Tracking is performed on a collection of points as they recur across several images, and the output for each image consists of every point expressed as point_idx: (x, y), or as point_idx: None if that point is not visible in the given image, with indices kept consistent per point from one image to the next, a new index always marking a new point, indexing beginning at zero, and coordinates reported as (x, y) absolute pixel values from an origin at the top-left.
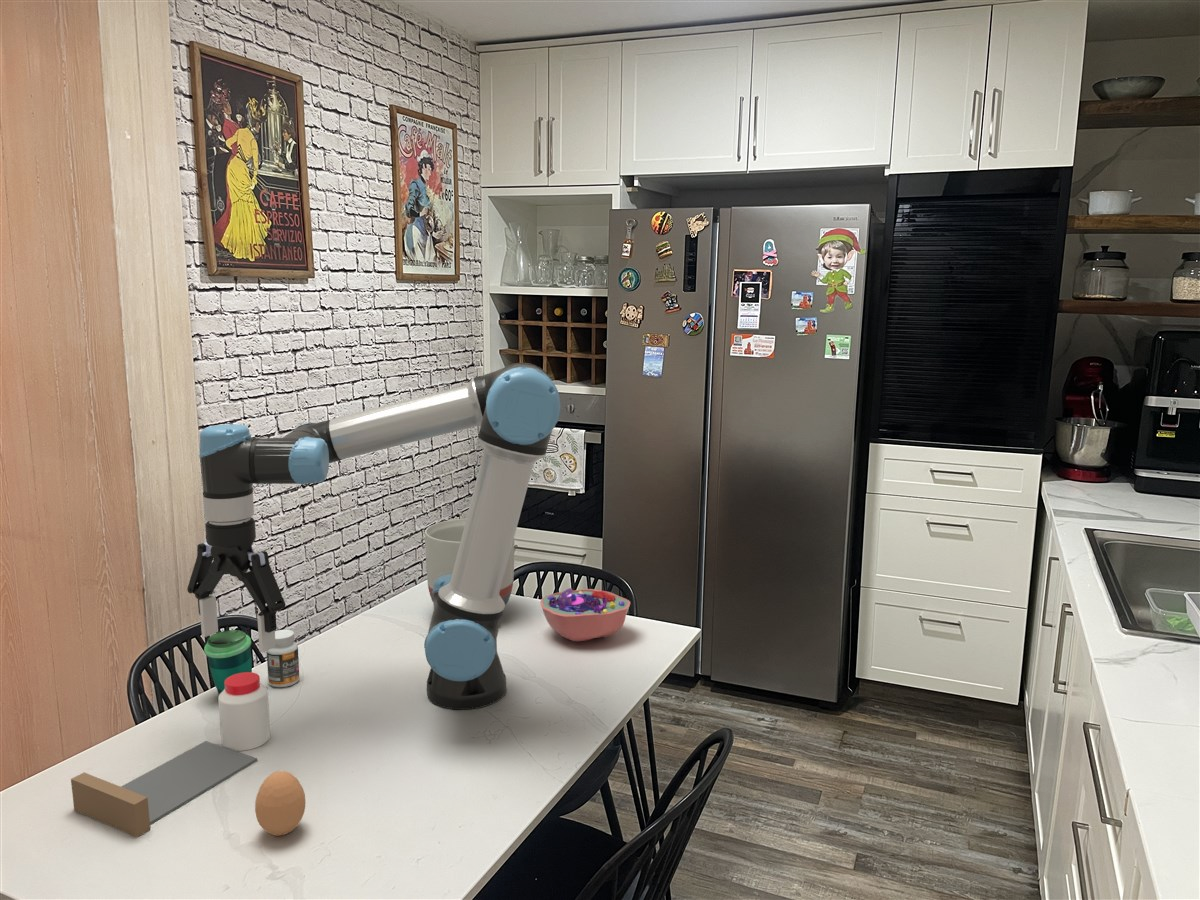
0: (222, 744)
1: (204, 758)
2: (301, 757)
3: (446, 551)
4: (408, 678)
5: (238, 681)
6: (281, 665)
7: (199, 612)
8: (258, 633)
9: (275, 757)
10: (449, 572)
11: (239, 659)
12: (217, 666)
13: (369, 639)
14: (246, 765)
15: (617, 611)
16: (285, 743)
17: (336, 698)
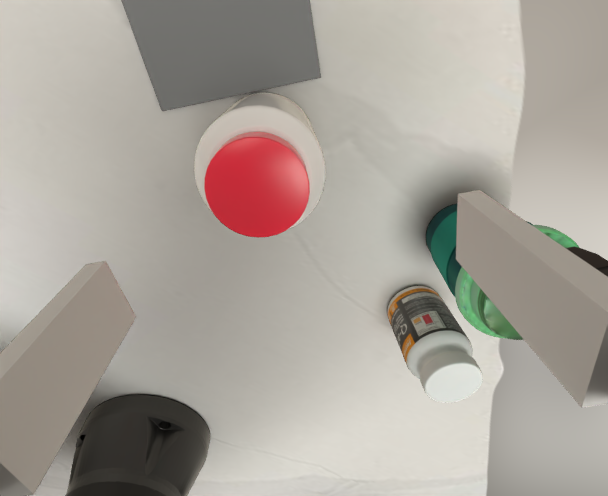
0: (276, 94)
1: (245, 27)
2: (116, 175)
3: None
4: (252, 413)
5: (248, 174)
6: (408, 323)
7: (591, 256)
8: (56, 317)
9: (151, 142)
10: None
11: (453, 272)
12: None
13: (415, 442)
14: (151, 79)
15: None
16: (192, 186)
17: (281, 325)
